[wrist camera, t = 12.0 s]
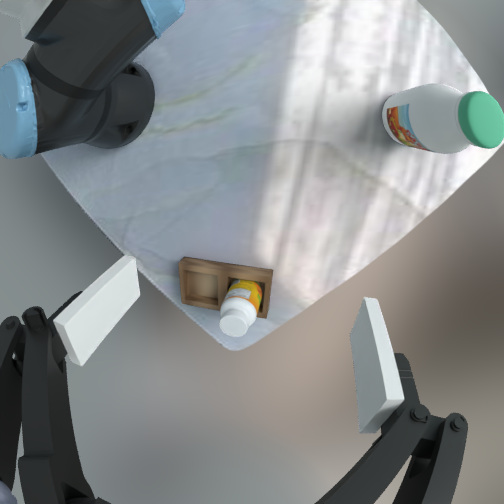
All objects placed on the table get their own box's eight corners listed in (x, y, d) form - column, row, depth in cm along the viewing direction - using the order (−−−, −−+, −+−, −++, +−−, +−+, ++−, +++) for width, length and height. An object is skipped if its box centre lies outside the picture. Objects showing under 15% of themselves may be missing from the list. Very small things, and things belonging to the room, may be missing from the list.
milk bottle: (379, 89, 29) (446, 59, 12) (428, 97, 28) (516, 87, 10) (380, 143, 33) (450, 161, 15) (428, 148, 31) (516, 176, 13)
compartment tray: (186, 295, 49) (181, 303, 47) (184, 256, 46) (178, 263, 44) (268, 309, 47) (266, 318, 45) (273, 269, 44) (271, 277, 42)
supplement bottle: (261, 304, 47) (250, 344, 38) (230, 298, 47) (214, 336, 39) (265, 278, 44) (254, 316, 36) (232, 272, 45) (214, 307, 36)
